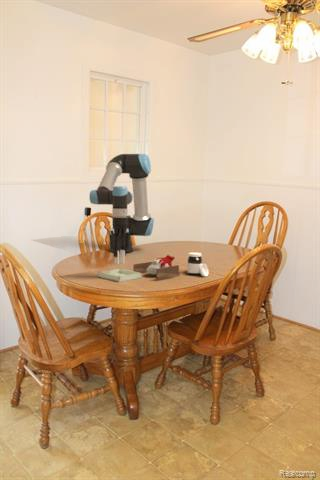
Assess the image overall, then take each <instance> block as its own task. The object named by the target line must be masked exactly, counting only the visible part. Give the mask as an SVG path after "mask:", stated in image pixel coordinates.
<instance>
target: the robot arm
mask: <svg viewBox="0 0 320 480" xmlns="http://www.w3.org/2000/svg"><path fill="white" fill-rule="evenodd" d="M151 171H152V167H151V160H150V157H149V155H147V154H145V153H122V154H121V153H120V154H118V155H116V156H114V157H112V159H111V160H109V161H108V162H107V165H106V167H105V173H104V175H103V176H102V178H101V181H100V183H99V185H98V187H97V188H96V189H92V190H90V192H89V202H90V203H91V205H112V207H111V209H112V211H111V212H112V213H111V216H112V228H111V229H110V230H108V235H109V251H110V252H112V253H113V258H114V264H117V265H119V264H120V263H122V264H125V262H126V259H125V258H126V255H127V254H126V253H131V252H134V247H133V243H132V240H131V236H136V237H137V236H140V237H141V236H142V237H148V236H151V235H152V233H153V228H154V221H155V220H154V218H153V217H152V216H151V214H150V213H149V208H148V207H149V206H148V191H147V189H148V188H147V178H148V177H149V174H150V173H151ZM122 174H129V175H128V176H129V179H131V181H132V192H131V191H129V190H128V187H127V186H123V185H122V186H118V185H116V186H115V184H116V182H117V180H118V178H119V176H121V175H122ZM132 202H133V208H134V214H133V215H132V217H131V215H128V205H129V204H131V203H132Z"/></svg>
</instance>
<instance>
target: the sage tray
mask: <svg viewBox="0 0 320 480" xmlns="http://www.w3.org/2000/svg"><path fill="white" fill-rule="evenodd" d="M142 276H143V274H142V273H139V272H134V271H133V270H129V269H123V268H115V269H108V270H103V271H97V278H100V277H101V279H104V280H109V281H113V282H118V283H122V282H128V281H133V280H134V281H135V280H137V279H142V278H143V277H142Z"/></svg>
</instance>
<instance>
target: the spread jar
mask: <svg viewBox="0 0 320 480" xmlns="http://www.w3.org/2000/svg"><path fill="white" fill-rule="evenodd" d="M187 275H189V276H202V277H204V278H205V277H208V276H209V268H208V265H207V264H206V263H203V258H202V253H201V252H188V258H187Z"/></svg>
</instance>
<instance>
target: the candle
mask: <svg viewBox="0 0 320 480" xmlns="http://www.w3.org/2000/svg"><path fill="white" fill-rule="evenodd" d="M174 260H175V256H172V255H170V254H167V255H166V256H164V257H158V258H156V259H154V260H152V262H153V263H151V265H150V266H149V267H148V268H147V270H146V272H147V273H146V274H150V275H153V276H155V275H156V269H158V268H164V267H170V266H173V265H172V262H173V261H174Z"/></svg>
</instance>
